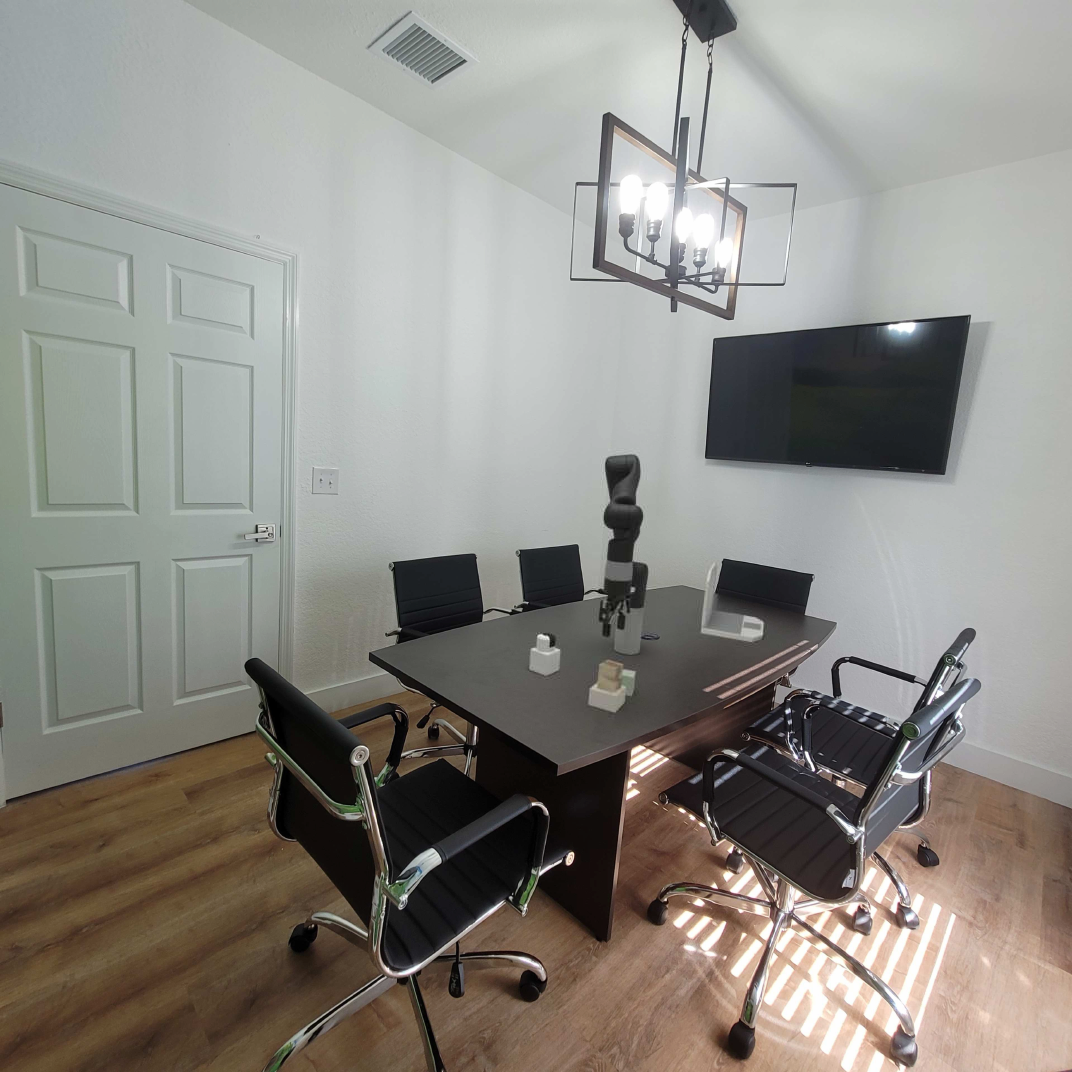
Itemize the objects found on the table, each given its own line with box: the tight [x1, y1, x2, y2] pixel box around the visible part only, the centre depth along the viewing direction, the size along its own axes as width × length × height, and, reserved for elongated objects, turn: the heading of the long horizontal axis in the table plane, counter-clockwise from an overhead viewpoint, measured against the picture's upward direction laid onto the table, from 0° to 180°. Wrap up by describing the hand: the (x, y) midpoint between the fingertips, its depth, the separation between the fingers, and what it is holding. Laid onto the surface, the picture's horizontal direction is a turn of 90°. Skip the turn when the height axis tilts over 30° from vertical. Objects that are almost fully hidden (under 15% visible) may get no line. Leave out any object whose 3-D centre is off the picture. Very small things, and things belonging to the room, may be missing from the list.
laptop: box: [700, 562, 765, 643], centre depth 237 cm, size 33×24×26 cm
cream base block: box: [587, 681, 626, 713], centre depth 156 cm, size 8×8×5 cm
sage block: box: [621, 668, 636, 697], centre depth 164 cm, size 5×5×6 cm
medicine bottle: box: [528, 632, 561, 677], centre depth 176 cm, size 7×7×12 cm
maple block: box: [597, 659, 624, 693], centre depth 155 cm, size 5×5×7 cm
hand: (613, 632), depth 153 cm, fingers open, 8 cm apart
